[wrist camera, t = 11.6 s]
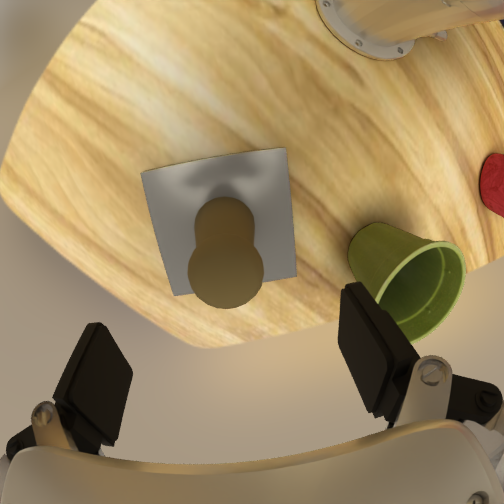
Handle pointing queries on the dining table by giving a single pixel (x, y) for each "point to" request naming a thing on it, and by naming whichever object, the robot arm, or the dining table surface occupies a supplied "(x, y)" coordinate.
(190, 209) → the tile
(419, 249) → the plant pot
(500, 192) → the wine bottle
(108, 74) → the dining table surface
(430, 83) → the dining table surface
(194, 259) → the brown pawn
